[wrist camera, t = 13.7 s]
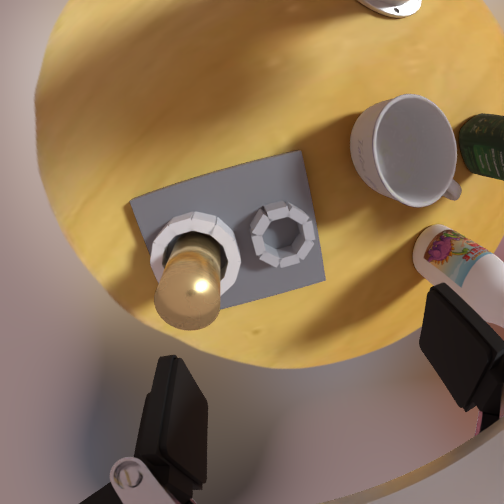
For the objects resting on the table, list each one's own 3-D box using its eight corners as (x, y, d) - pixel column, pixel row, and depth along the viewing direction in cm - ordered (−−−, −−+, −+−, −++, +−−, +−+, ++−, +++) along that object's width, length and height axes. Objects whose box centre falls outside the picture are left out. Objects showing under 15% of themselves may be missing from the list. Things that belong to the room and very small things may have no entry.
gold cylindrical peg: (166, 237, 29) (143, 283, 20) (212, 223, 29) (207, 265, 20) (183, 278, 31) (169, 335, 22) (226, 266, 31) (228, 321, 22)
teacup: (319, 145, 28) (350, 149, 21) (376, 81, 25) (417, 71, 18) (394, 225, 32) (432, 248, 25) (441, 165, 30) (483, 176, 22)
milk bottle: (449, 263, 36) (538, 336, 17) (411, 280, 36) (500, 370, 17) (449, 216, 33) (557, 279, 14) (409, 231, 33) (521, 312, 14)
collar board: (133, 197, 28) (121, 206, 25) (297, 150, 28) (308, 152, 24) (180, 312, 34) (176, 332, 31) (321, 274, 34) (332, 290, 30)
